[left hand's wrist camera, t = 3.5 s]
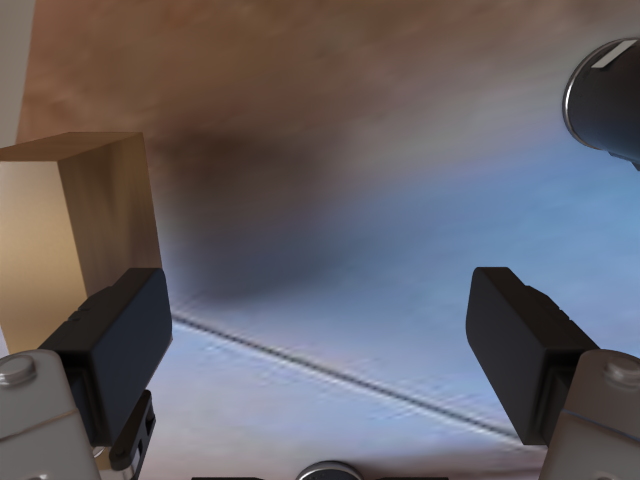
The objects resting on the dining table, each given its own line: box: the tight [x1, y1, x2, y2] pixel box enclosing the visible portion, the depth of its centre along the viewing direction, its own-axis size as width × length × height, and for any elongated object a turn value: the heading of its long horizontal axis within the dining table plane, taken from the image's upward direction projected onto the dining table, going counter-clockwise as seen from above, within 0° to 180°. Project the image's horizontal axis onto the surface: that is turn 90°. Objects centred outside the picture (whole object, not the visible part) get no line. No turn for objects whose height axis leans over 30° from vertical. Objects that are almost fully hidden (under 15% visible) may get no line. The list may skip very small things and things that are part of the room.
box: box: [0, 132, 173, 389], centre depth 34 cm, size 20×6×12 cm, turn 0°
